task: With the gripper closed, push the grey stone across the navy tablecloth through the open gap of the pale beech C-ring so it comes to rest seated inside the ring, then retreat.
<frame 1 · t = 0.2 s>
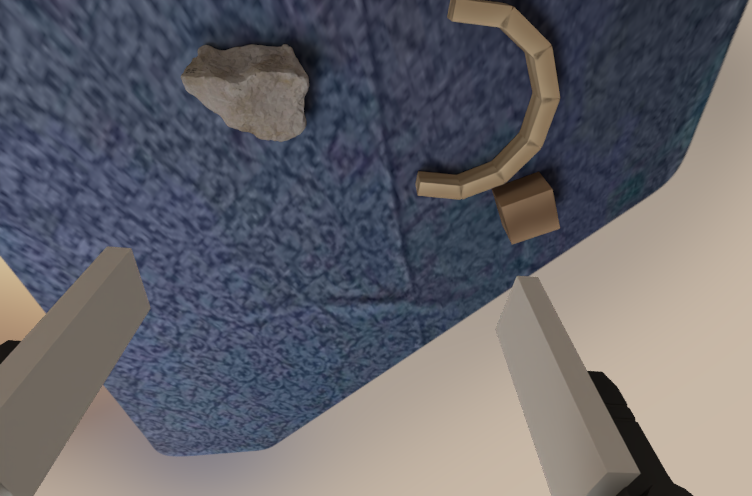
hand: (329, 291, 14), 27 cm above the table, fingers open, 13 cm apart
stone: (259, 80, 36), on the table
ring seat: (454, 105, 37), on the table
walnut block: (519, 198, 44), on the table
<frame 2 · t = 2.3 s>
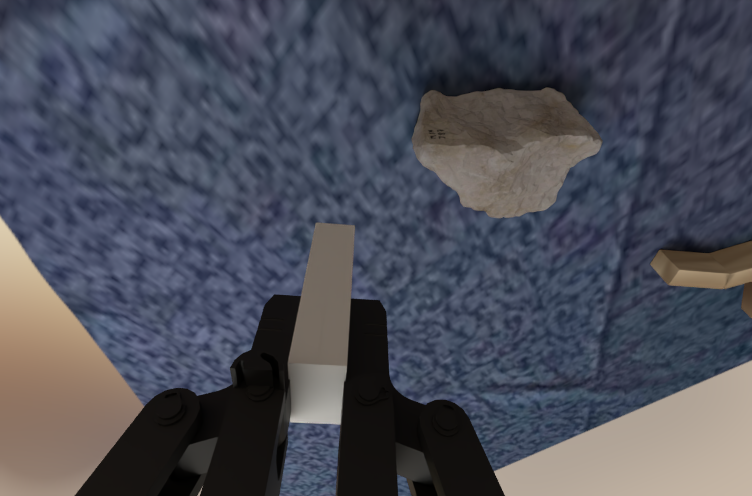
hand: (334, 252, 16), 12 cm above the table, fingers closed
stone: (485, 134, 26), on the table
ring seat: (743, 171, 27), on the table
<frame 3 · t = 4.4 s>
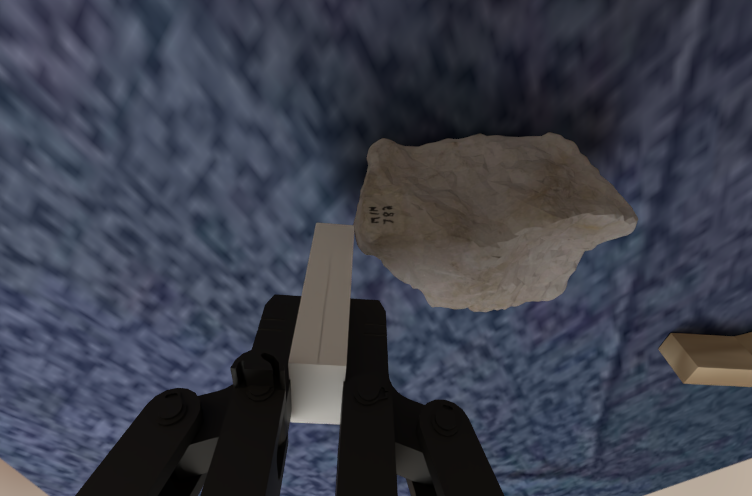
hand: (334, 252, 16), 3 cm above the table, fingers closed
stone: (465, 193, 19), on the table, touching gripper
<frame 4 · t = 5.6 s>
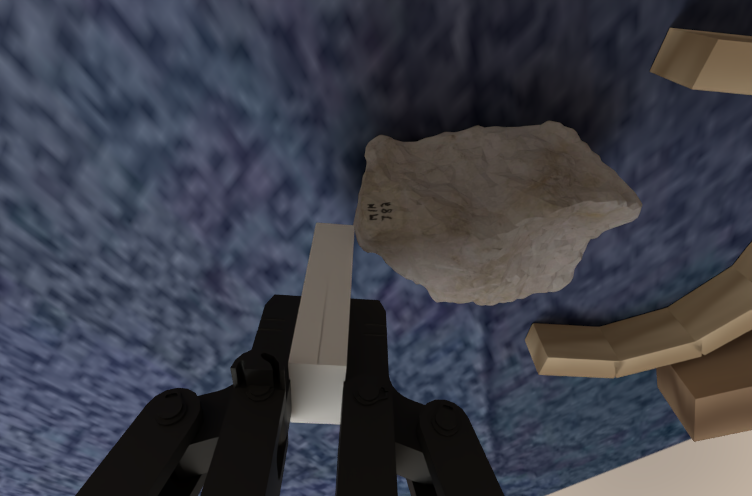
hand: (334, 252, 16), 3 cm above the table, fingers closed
stone: (466, 186, 18), on the table
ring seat: (621, 227, 20), on the table
walnut block: (696, 354, 26), on the table
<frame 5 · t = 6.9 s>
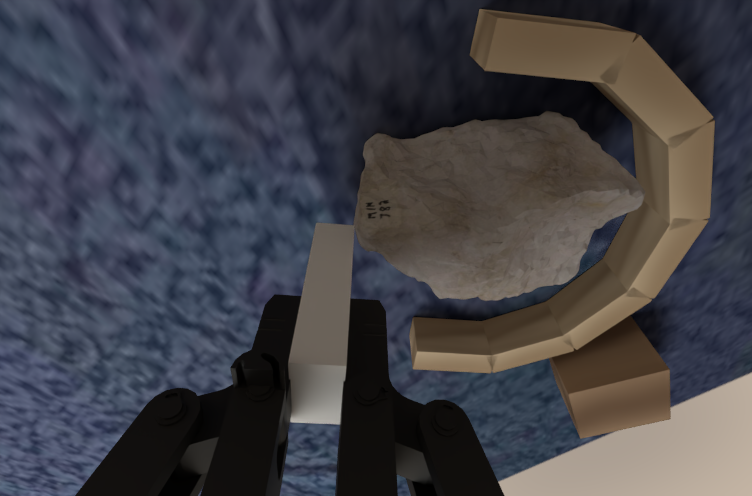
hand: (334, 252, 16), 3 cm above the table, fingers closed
stone: (467, 181, 18), on the table, touching gripper
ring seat: (480, 217, 19), on the table
walnut block: (589, 349, 25), on the table
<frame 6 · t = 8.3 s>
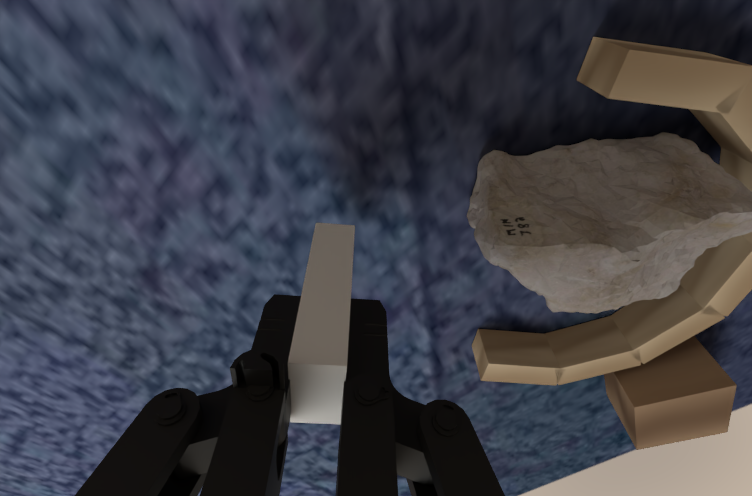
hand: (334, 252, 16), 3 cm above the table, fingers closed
stone: (566, 196, 19), on the table
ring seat: (560, 234, 20), on the table
walnut block: (643, 362, 26), on the table
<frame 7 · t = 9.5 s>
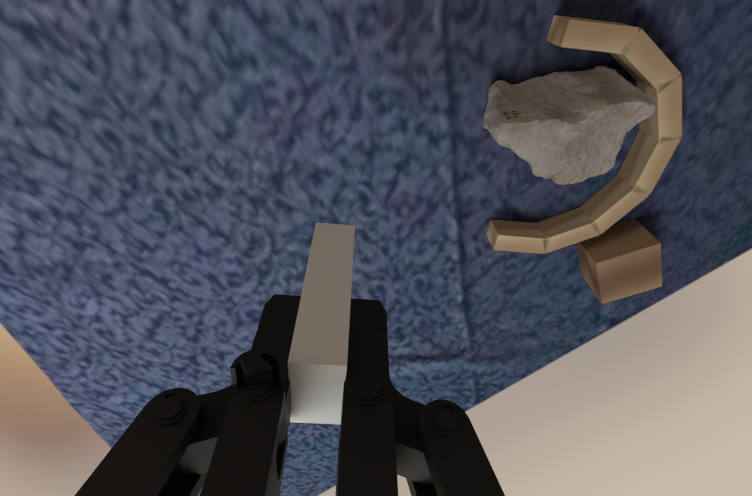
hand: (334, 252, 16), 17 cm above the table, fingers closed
stone: (544, 113, 30), on the table
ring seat: (542, 144, 31), on the table
walnut block: (606, 247, 37), on the table
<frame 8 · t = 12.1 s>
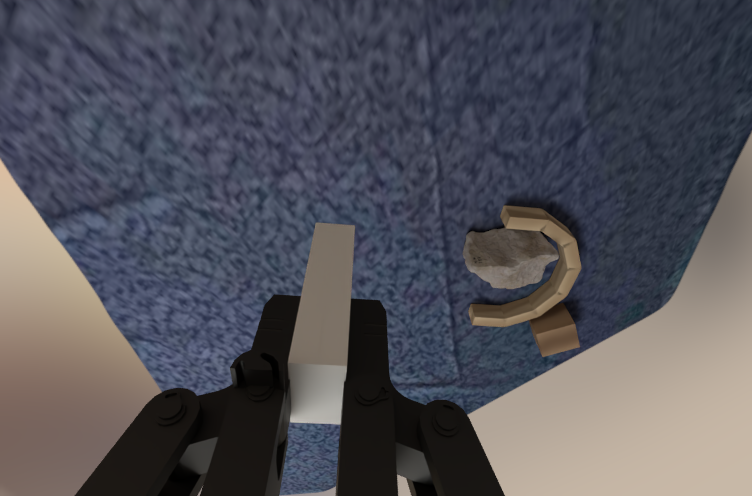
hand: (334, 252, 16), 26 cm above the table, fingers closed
stone: (501, 244, 49), on the table
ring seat: (501, 264, 50), on the table
walnut block: (547, 318, 57), on the table
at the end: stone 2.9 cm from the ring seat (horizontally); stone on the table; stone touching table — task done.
